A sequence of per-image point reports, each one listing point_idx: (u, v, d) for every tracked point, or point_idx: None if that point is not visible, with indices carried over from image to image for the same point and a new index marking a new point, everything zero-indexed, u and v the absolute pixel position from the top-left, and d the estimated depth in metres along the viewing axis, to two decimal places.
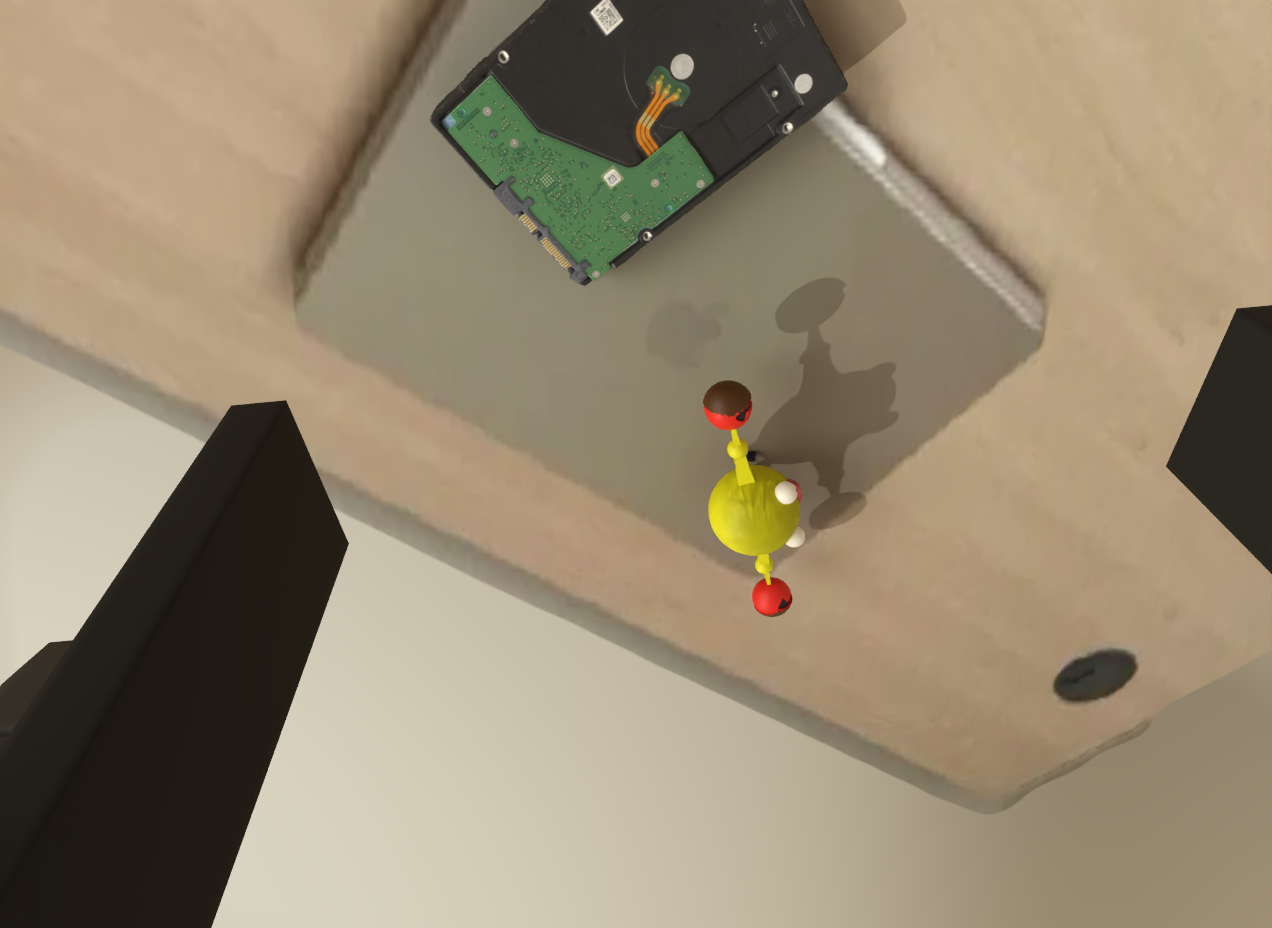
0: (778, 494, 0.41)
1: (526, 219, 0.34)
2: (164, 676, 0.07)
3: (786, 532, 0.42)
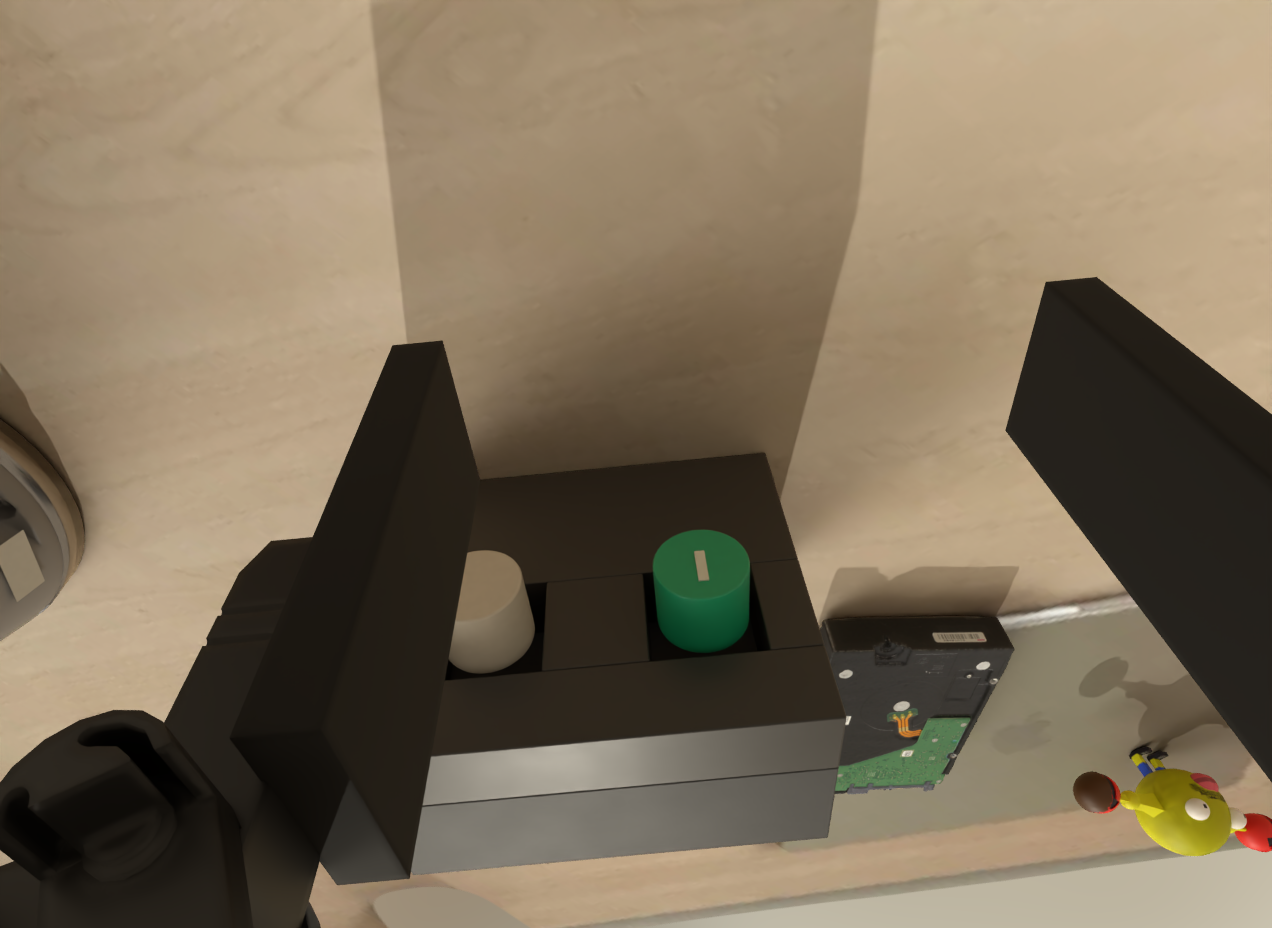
0: (1191, 816, 0.47)
1: (875, 788, 0.49)
2: (393, 561, 0.08)
3: (1222, 835, 0.47)
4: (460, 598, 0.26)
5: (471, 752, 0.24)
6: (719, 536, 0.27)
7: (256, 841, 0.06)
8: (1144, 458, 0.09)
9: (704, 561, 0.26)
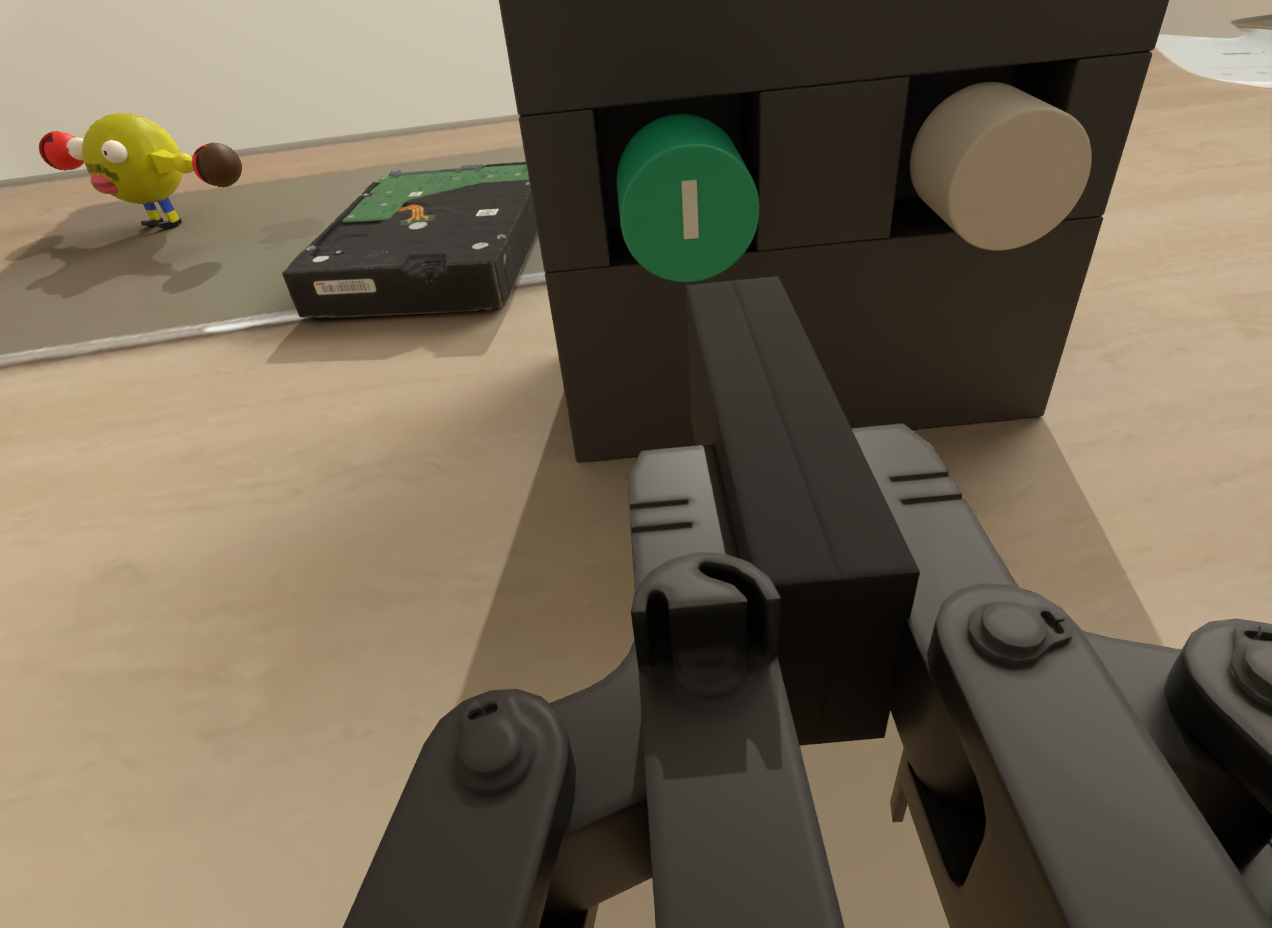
0: (121, 144, 0.45)
1: None
2: None
3: (92, 128, 0.45)
4: (1042, 154, 0.18)
5: None
6: (659, 267, 0.19)
7: None
8: None
9: (685, 219, 0.18)
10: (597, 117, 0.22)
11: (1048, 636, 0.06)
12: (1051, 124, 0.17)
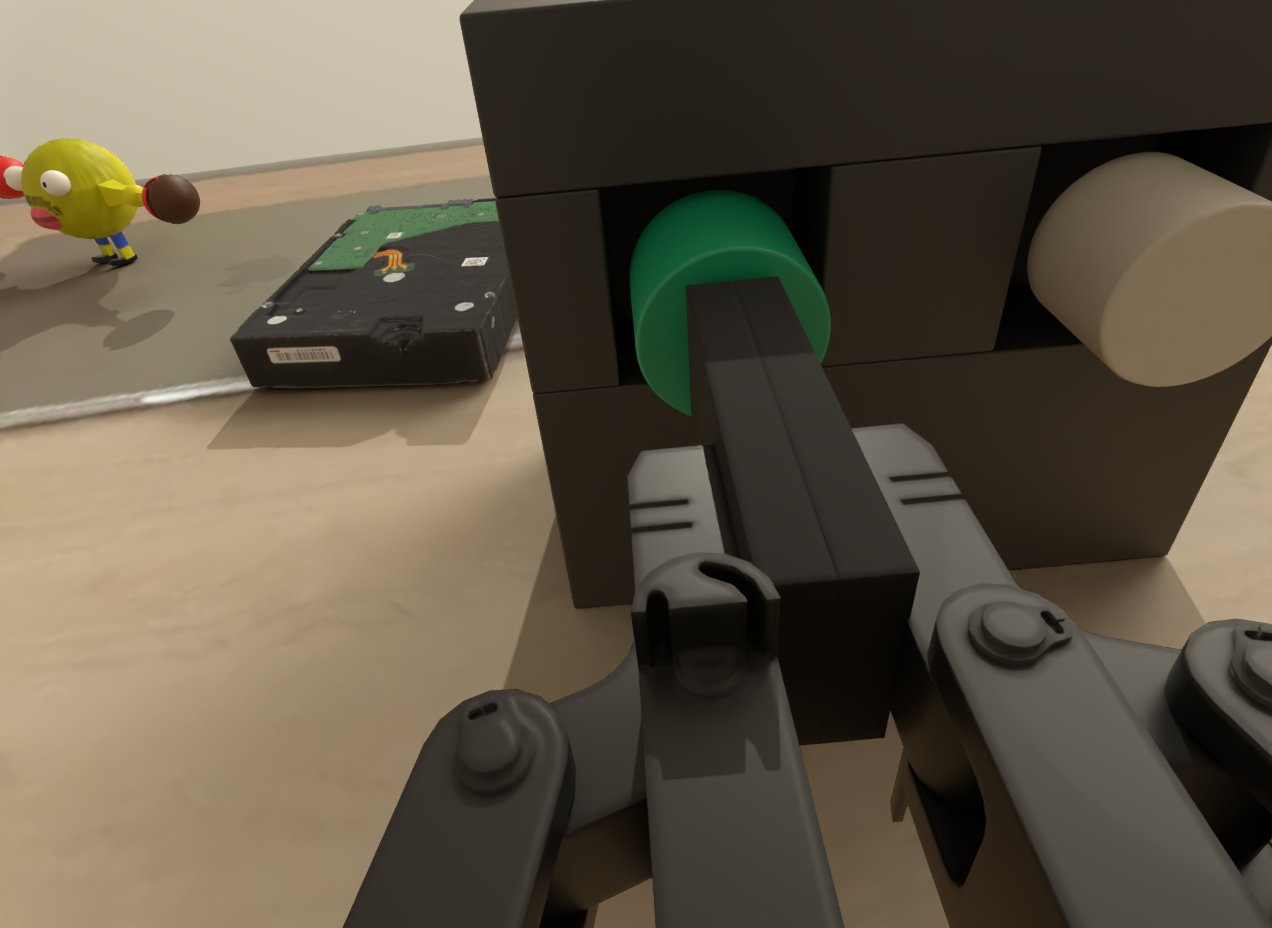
0: (63, 175, 0.39)
1: None
2: None
3: (32, 156, 0.40)
4: (1243, 265, 0.12)
5: None
6: (688, 403, 0.14)
7: None
8: None
9: None
10: None
11: (1048, 636, 0.06)
12: (1264, 225, 0.12)
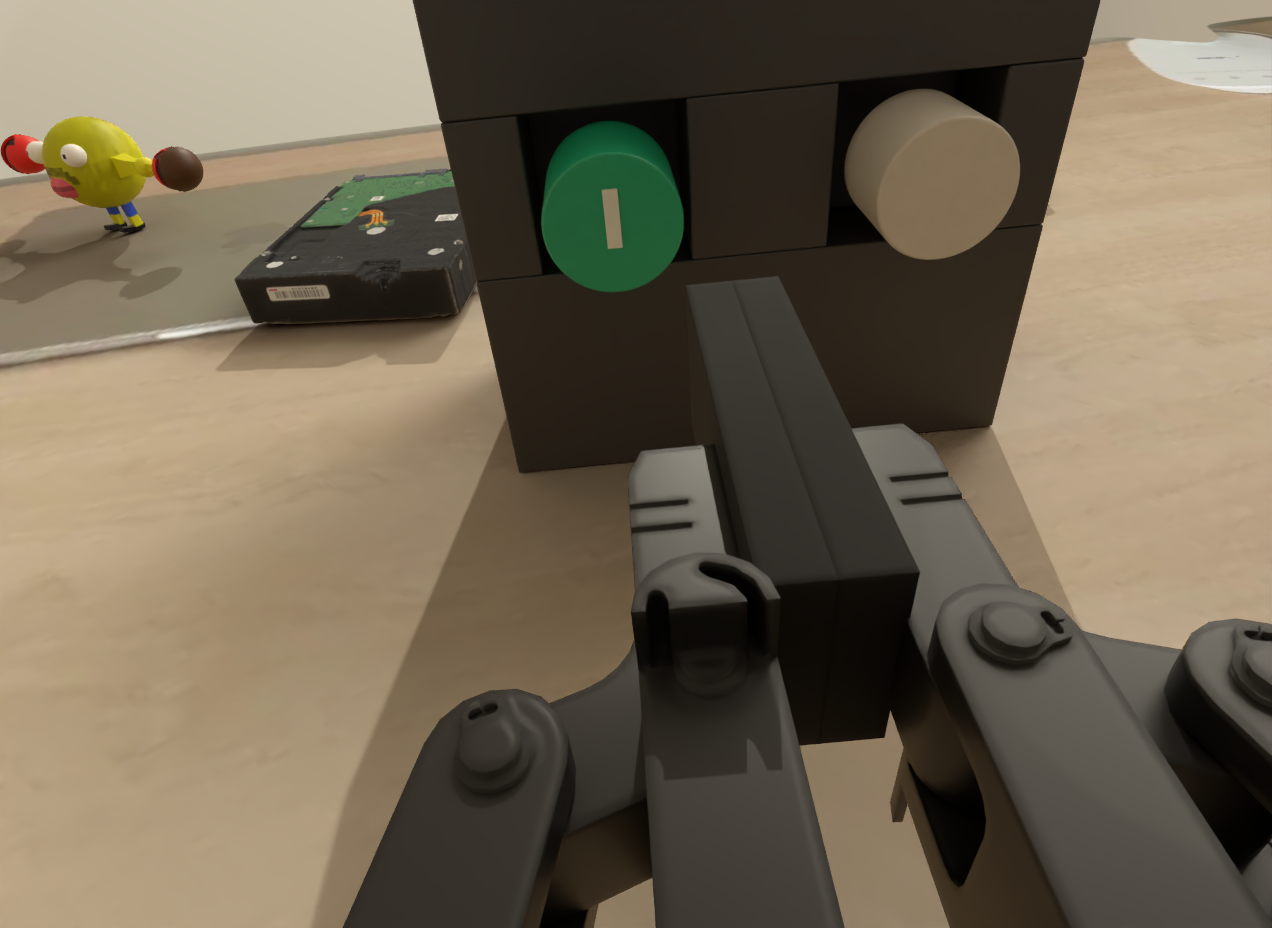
0: (81, 148, 0.44)
1: None
2: None
3: (52, 131, 0.44)
4: (969, 163, 0.18)
5: None
6: (585, 277, 0.19)
7: None
8: None
9: (607, 228, 0.18)
10: (530, 123, 0.22)
11: (1048, 636, 0.06)
12: (977, 132, 0.17)
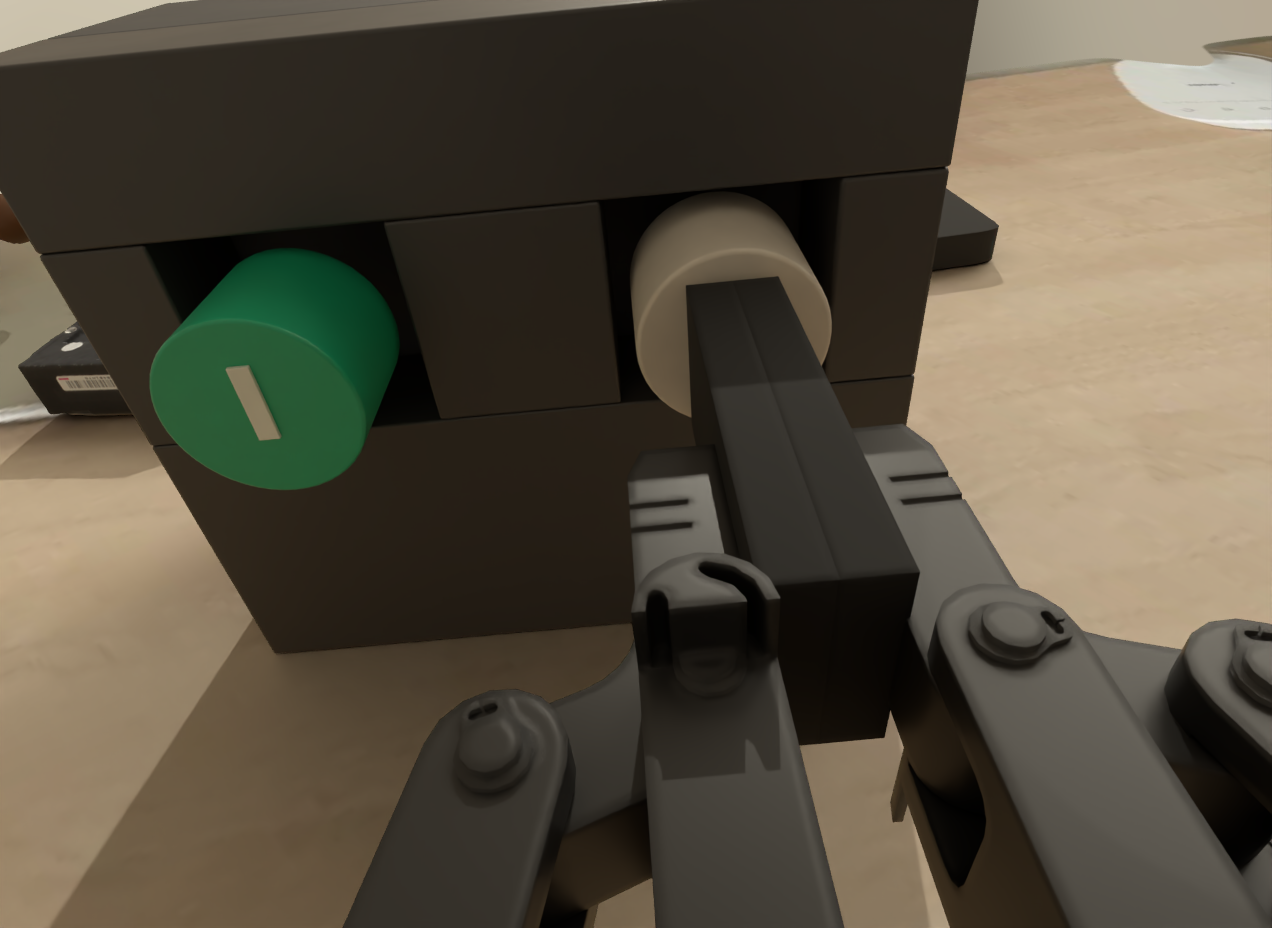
0: None
1: None
2: None
3: None
4: None
5: None
6: (240, 473, 0.13)
7: None
8: None
9: (253, 415, 0.13)
10: None
11: (1048, 636, 0.06)
12: (760, 269, 0.12)
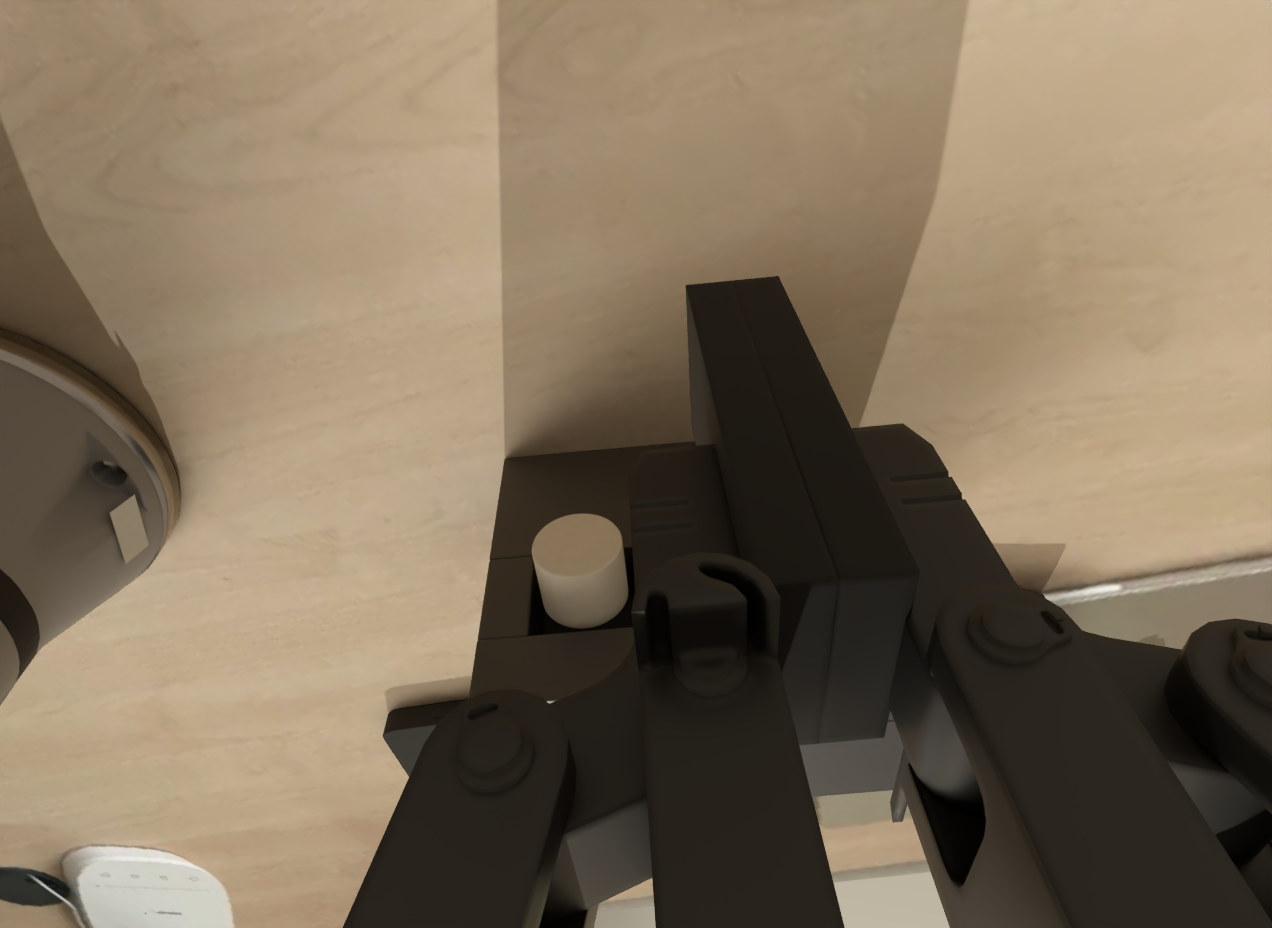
0: None
1: None
2: None
3: None
4: (566, 556, 0.28)
5: None
6: None
7: None
8: None
9: None
10: None
11: (1048, 636, 0.06)
12: (564, 569, 0.27)
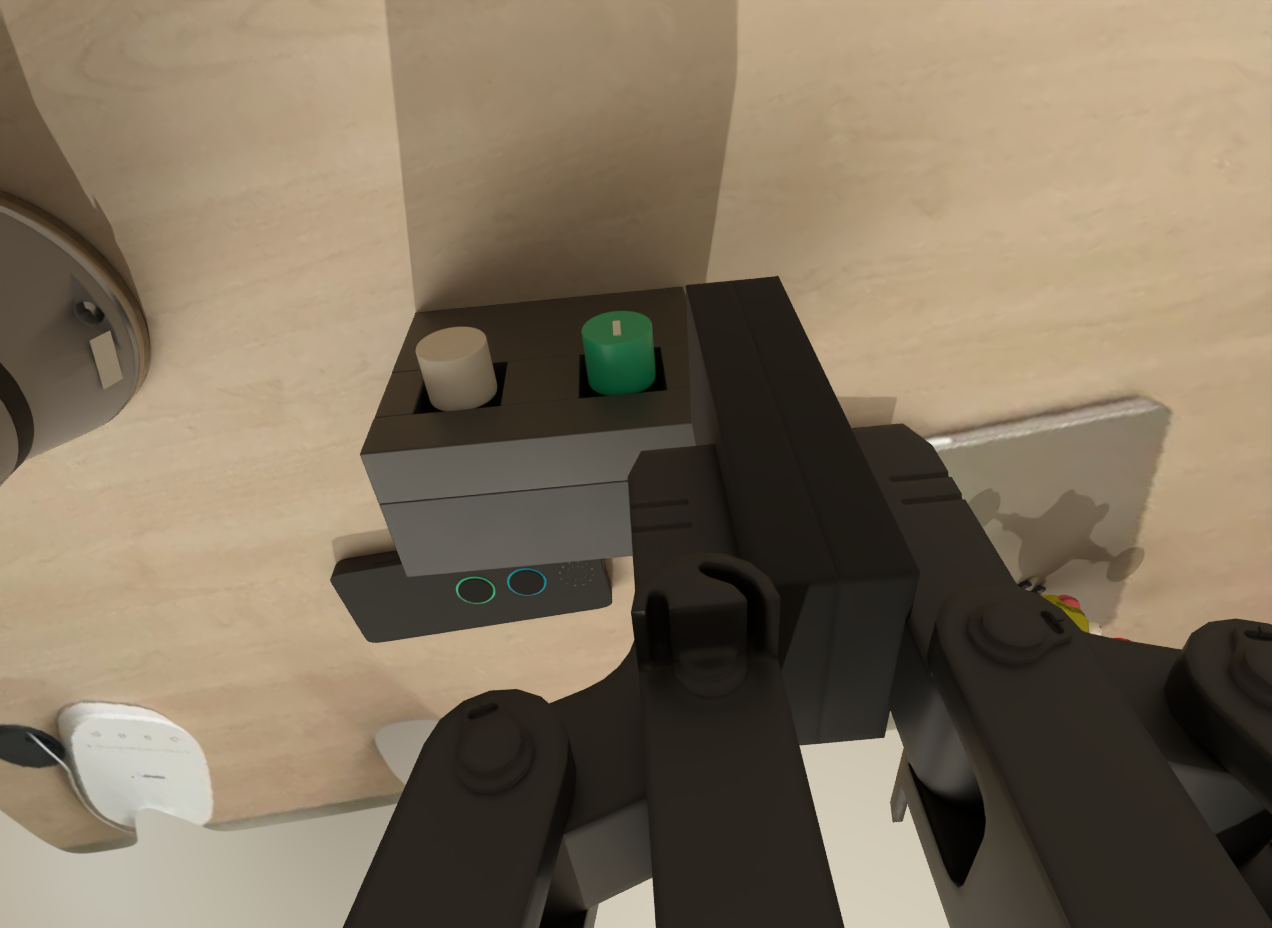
0: None
1: None
2: None
3: None
4: (440, 350, 0.36)
5: (447, 446, 0.34)
6: (632, 313, 0.37)
7: None
8: None
9: (619, 326, 0.36)
10: None
11: (1048, 636, 0.06)
12: (437, 357, 0.35)
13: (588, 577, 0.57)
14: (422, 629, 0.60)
